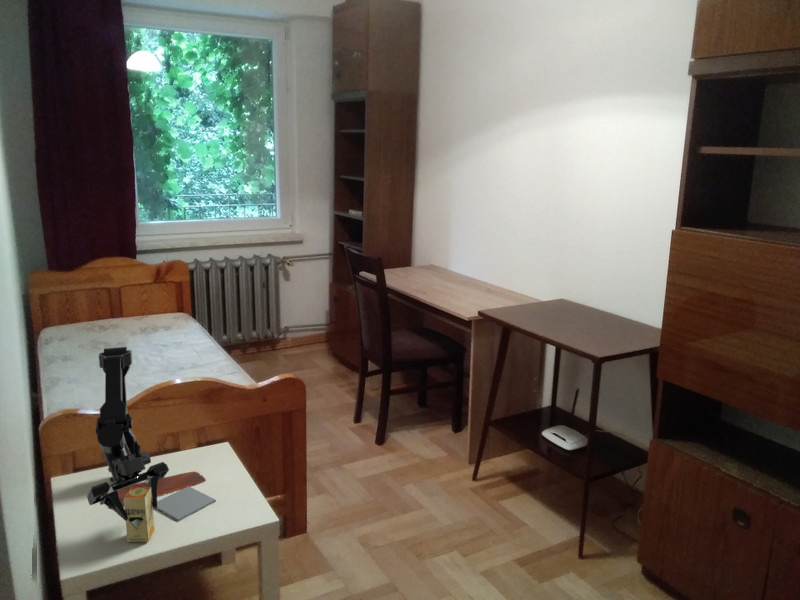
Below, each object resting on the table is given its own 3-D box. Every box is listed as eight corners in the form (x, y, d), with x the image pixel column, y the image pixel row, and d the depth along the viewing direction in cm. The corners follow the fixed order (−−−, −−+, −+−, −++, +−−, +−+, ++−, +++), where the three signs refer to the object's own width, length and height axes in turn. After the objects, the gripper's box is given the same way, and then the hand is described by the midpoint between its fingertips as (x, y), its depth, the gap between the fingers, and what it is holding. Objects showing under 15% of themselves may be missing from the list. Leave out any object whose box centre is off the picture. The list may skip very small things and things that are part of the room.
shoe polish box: (134, 530, 159) (130, 487, 156) (154, 529, 159) (150, 486, 157) (127, 541, 154) (123, 497, 151) (148, 541, 154) (144, 497, 152)
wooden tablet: (110, 512, 169) (110, 507, 168) (103, 496, 177) (102, 491, 176) (208, 484, 184) (208, 479, 183) (198, 470, 192) (197, 465, 191)
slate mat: (151, 506, 171) (151, 504, 171) (188, 488, 180) (188, 486, 180) (178, 521, 164) (178, 519, 164) (215, 501, 174) (215, 499, 173)
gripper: (86, 457, 147) (110, 518, 142) (163, 432, 160) (187, 487, 156) (77, 475, 154) (99, 534, 150) (151, 450, 168) (173, 503, 163)
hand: (141, 514), depth 154 cm, fingers closed on shoe polish box, 7 cm apart
